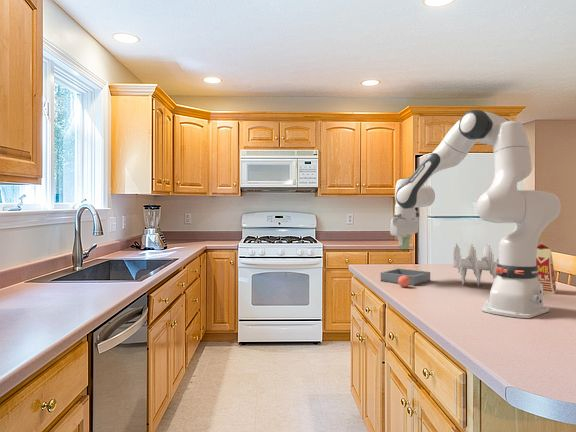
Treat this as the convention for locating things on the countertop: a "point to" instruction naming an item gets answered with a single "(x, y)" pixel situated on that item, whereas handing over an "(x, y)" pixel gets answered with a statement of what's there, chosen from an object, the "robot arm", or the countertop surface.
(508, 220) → the robot arm
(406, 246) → the cucumber chunk
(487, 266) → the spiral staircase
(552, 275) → the milk carton
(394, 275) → the bin
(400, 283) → the tomato ball
